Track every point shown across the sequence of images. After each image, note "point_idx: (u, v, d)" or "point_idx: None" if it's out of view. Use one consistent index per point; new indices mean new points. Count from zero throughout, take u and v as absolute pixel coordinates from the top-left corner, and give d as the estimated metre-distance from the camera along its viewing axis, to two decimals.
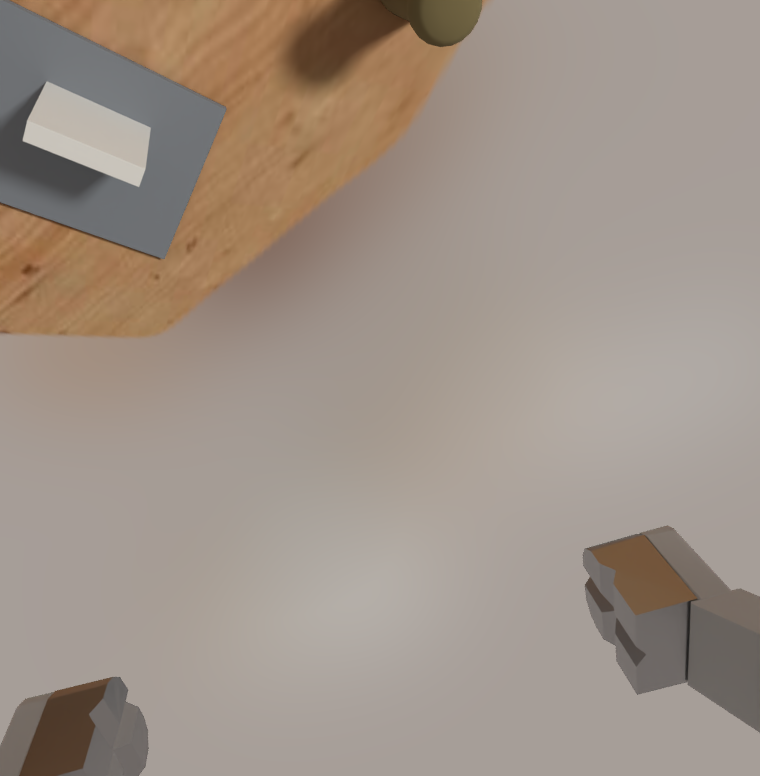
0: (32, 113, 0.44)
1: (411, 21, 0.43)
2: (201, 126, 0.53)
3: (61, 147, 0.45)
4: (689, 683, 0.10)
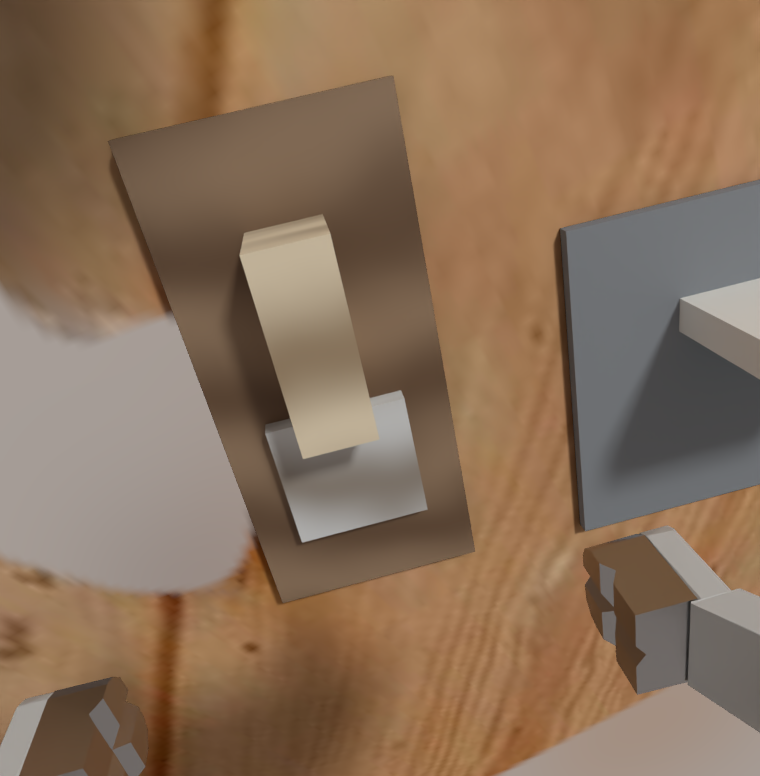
0: None
1: None
2: None
3: None
4: (689, 683, 0.10)
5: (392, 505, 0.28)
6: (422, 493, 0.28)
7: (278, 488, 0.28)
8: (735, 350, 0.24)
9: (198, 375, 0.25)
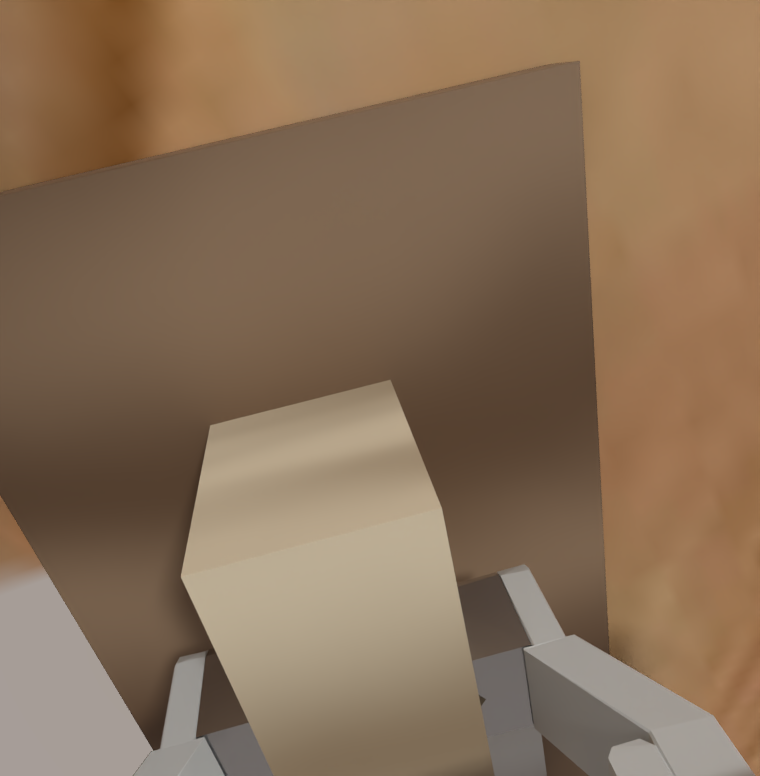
0: None
1: None
2: None
3: None
4: (535, 727, 0.10)
5: None
6: None
7: None
8: None
9: (120, 688, 0.12)
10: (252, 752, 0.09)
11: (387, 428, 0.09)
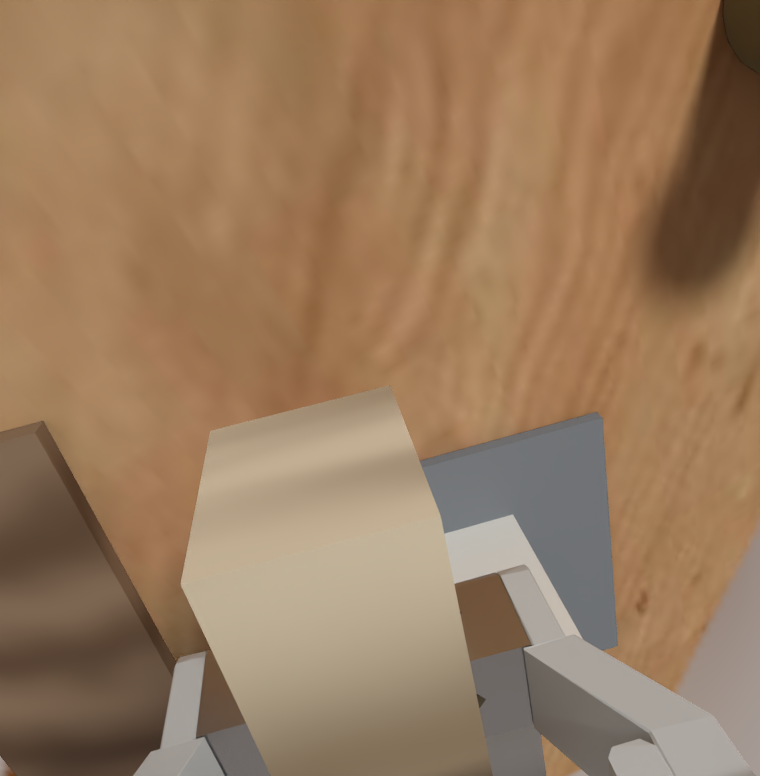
0: None
1: None
2: (579, 463, 0.31)
3: None
4: (535, 727, 0.10)
5: None
6: None
7: (14, 725, 0.32)
8: None
9: None
10: (252, 752, 0.09)
11: (387, 434, 0.09)
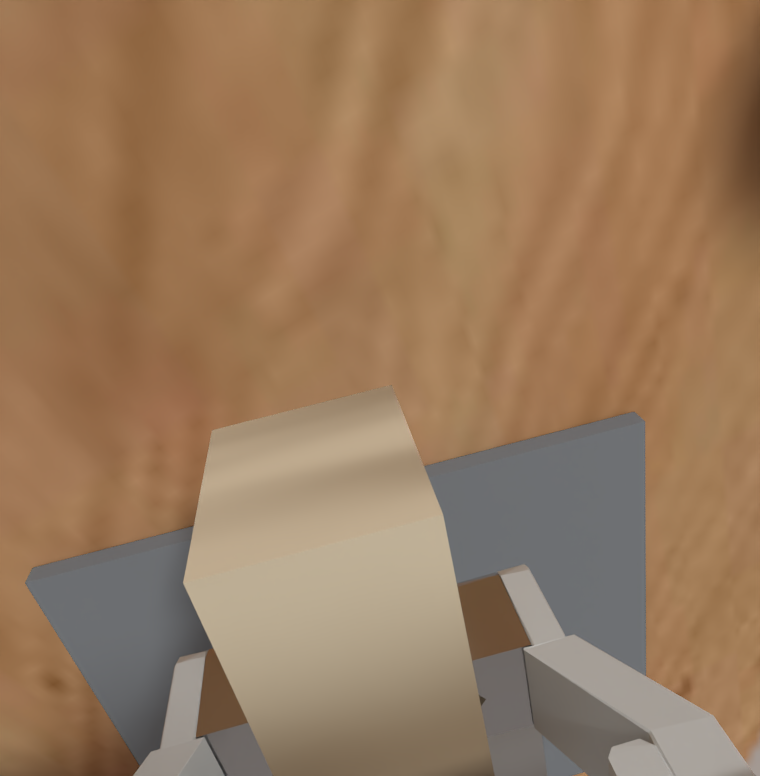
0: None
1: None
2: (603, 494, 0.19)
3: None
4: (535, 727, 0.10)
5: None
6: None
7: None
8: None
9: None
10: (252, 752, 0.09)
11: (389, 434, 0.09)
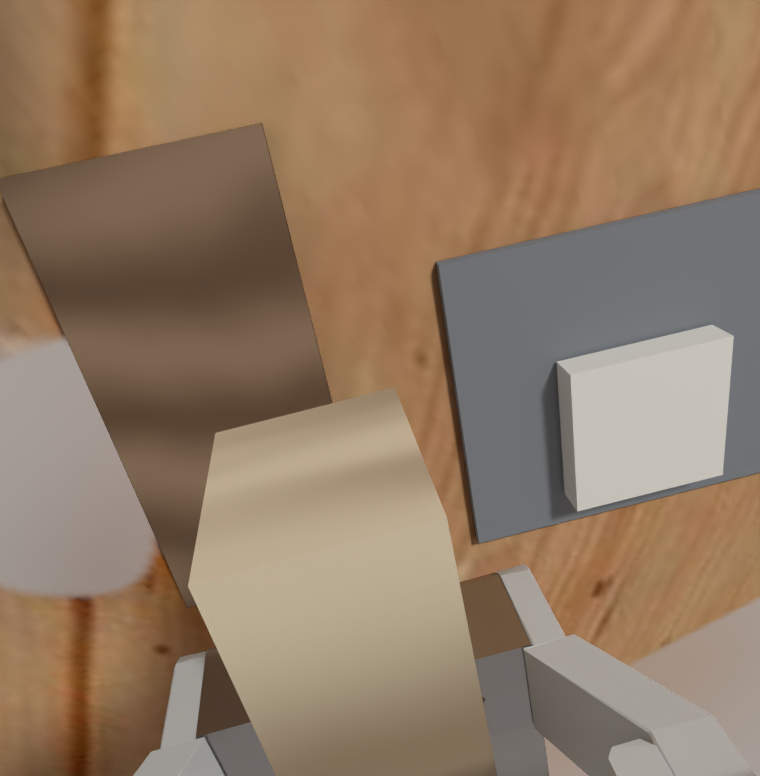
0: (578, 490, 0.32)
1: None
2: None
3: None
4: (535, 727, 0.10)
5: None
6: None
7: (176, 499, 0.30)
8: (565, 434, 0.31)
9: (92, 394, 0.27)
10: (252, 752, 0.09)
11: (391, 437, 0.09)
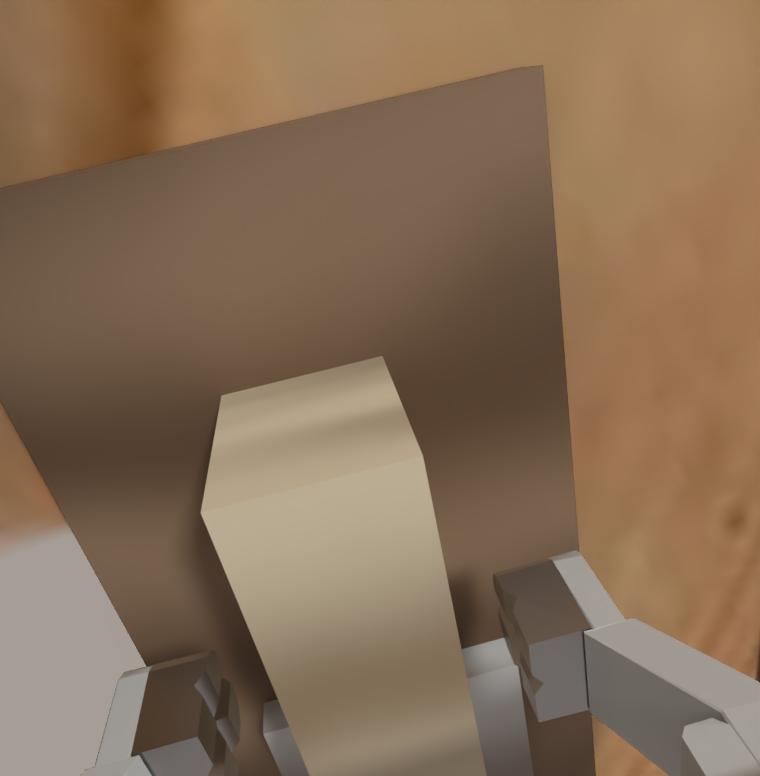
0: None
1: None
2: None
3: None
4: (591, 711, 0.10)
5: None
6: None
7: None
8: None
9: (133, 636, 0.13)
10: (189, 770, 0.09)
11: (378, 395, 0.10)
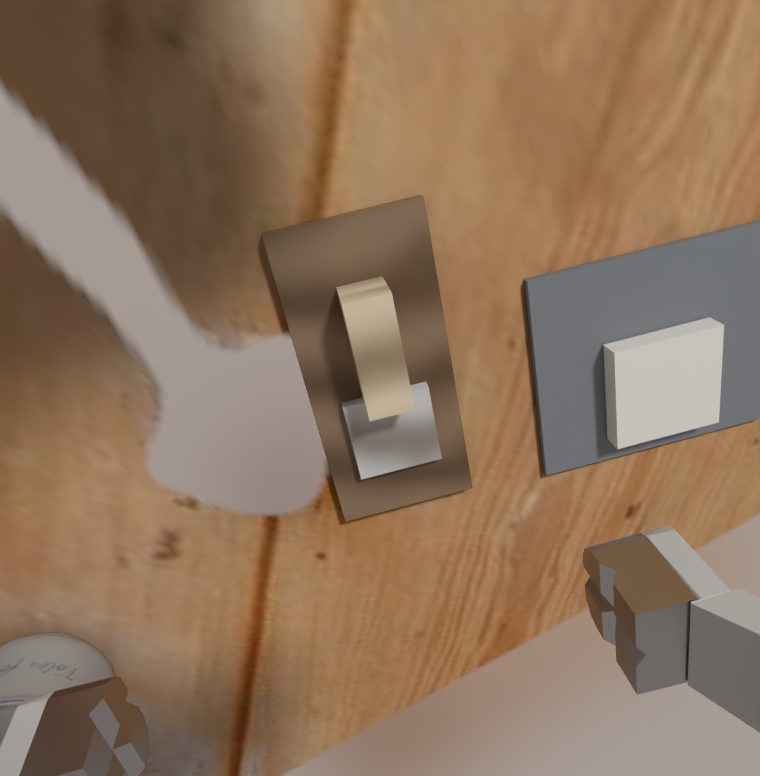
0: (618, 433, 0.46)
1: None
2: None
3: None
4: (689, 683, 0.10)
5: (419, 455, 0.44)
6: (438, 447, 0.44)
7: (346, 443, 0.44)
8: (609, 394, 0.45)
9: (302, 370, 0.41)
10: None
11: (381, 283, 0.38)
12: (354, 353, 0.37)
